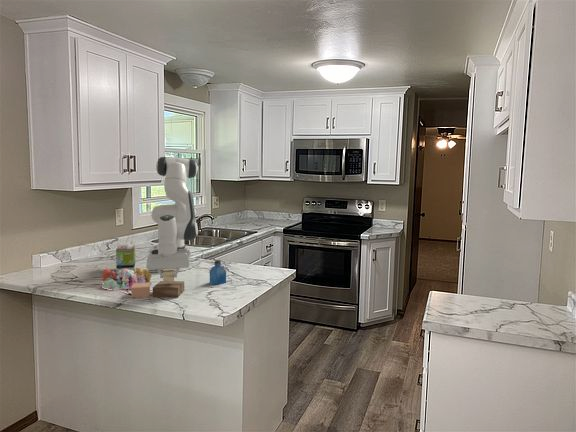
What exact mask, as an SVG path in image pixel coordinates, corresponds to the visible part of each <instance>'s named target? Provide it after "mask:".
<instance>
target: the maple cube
mask: <svg viewBox="0 0 576 432" xmlns="http://www.w3.org/2000/svg"><path fill="white" fill-rule="evenodd" d="M174 273H175V272H174V269H168V270H162V274H163V278H162V281H163V282H174V281H175V277H174Z"/></svg>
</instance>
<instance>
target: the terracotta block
mask: <svg viewBox="0 0 576 432" xmlns="http://www.w3.org/2000/svg"><path fill="white" fill-rule="evenodd" d="M130 291H131V293H130V294H131V298H132V297H138V298H149V297H150V296H151V284H150V283H134V284H133V285H132V287H131V290H130Z"/></svg>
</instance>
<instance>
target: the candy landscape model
mask: <svg viewBox="0 0 576 432" xmlns="http://www.w3.org/2000/svg"><path fill="white" fill-rule="evenodd" d="M108 277H112V278H111V279H110V280H107V278H108ZM101 278H102V281H103V282H102V283H104V284H103V285H102V287H104V288H108V289H112V290H116V291H118V290H117V289H131V287H132V285H133V284H134V283H150V285H152V284H153V283H152V282H151V278H152V273H151V272H150V270H148V269H147V268H146V269H142V268H141V267H135V271H133V270H128V269H123V270H120V271H118V274H116V272H115V271H114V270H110V269H109V268H105V269H103V271H102V275H101Z"/></svg>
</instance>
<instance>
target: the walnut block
mask: <svg viewBox="0 0 576 432" xmlns="http://www.w3.org/2000/svg"><path fill="white" fill-rule="evenodd" d="M184 292H185V281H184V280H183V281H182V280H181V281H179V280H177V281H175V280H174V282H163V280H160V281H158V282H157V283H156V284H155V285H154V286H153V287H152V298H170V299H171V298H177V299H178V298H179V297H180V296H181V295H182V294H183V293H184Z"/></svg>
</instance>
